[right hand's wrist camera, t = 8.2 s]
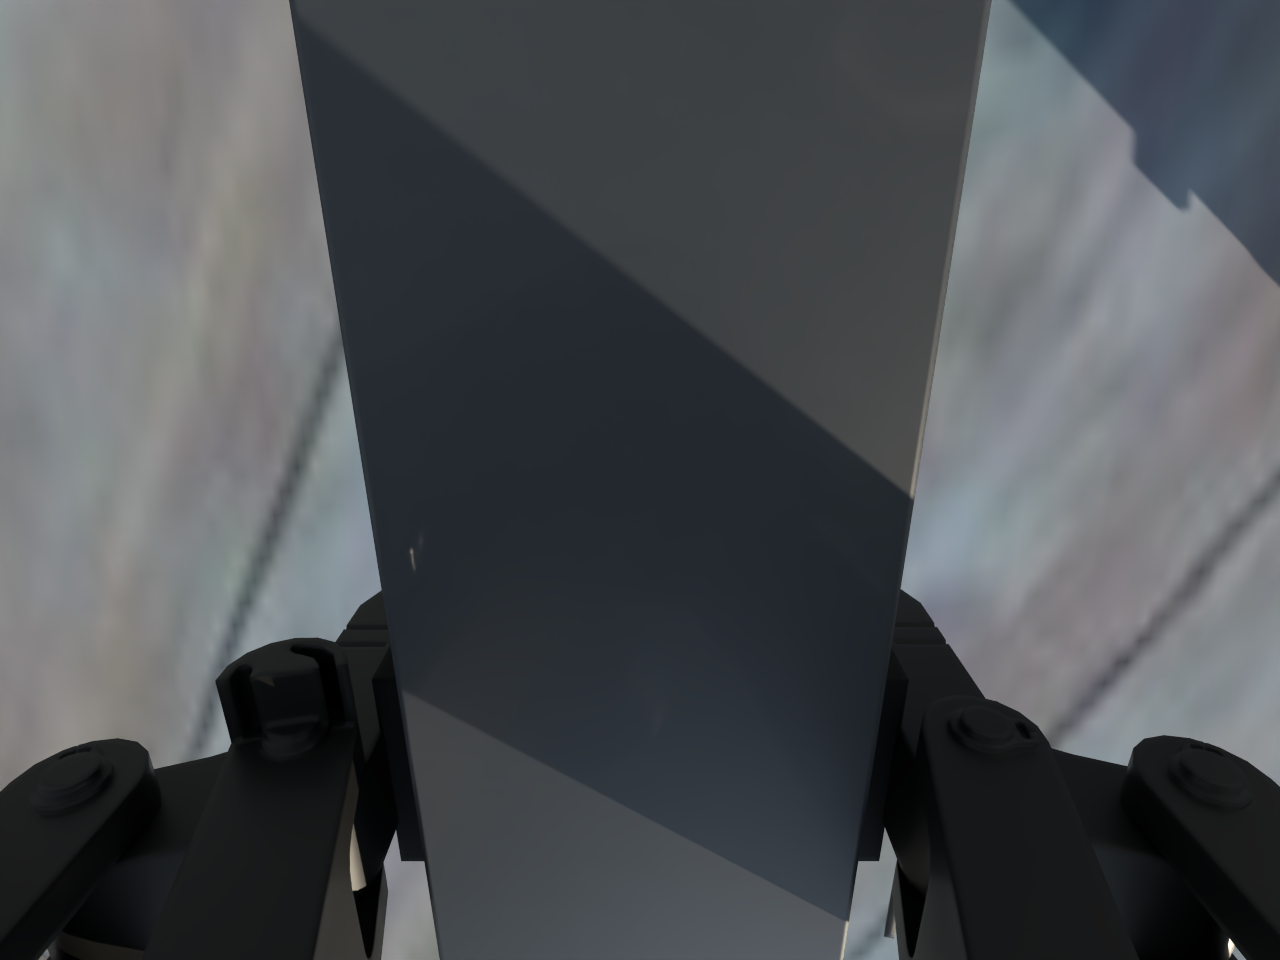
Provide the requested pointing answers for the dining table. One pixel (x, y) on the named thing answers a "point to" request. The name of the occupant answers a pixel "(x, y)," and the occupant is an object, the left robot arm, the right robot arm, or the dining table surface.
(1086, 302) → the dining table surface
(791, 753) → the beam
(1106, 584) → the dining table surface
